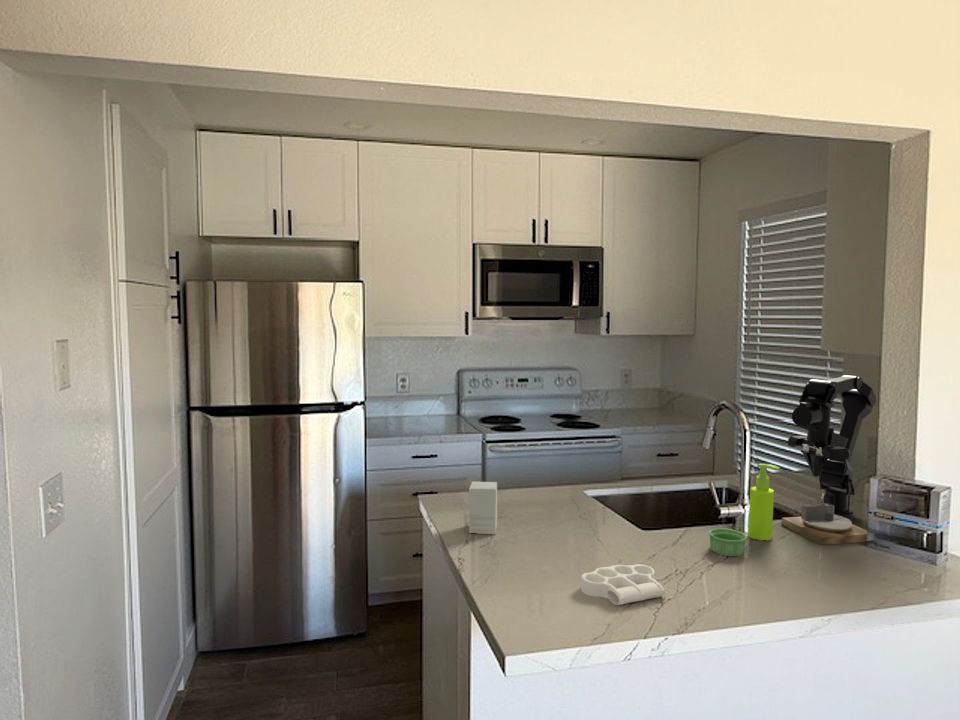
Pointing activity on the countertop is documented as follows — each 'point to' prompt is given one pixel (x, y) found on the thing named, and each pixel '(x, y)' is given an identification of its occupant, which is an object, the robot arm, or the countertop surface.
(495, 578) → the countertop surface
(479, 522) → the supplement box
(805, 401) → the robot arm
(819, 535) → the dial base
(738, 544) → the ramekin
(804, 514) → the dial
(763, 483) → the soap dispenser
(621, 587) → the white brass knuckles
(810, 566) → the countertop surface
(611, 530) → the countertop surface
